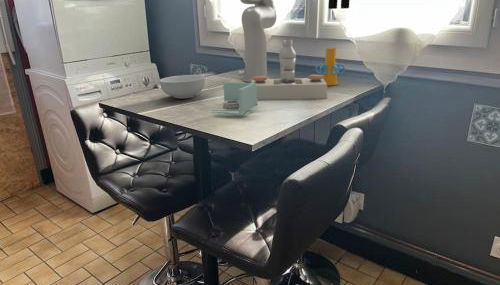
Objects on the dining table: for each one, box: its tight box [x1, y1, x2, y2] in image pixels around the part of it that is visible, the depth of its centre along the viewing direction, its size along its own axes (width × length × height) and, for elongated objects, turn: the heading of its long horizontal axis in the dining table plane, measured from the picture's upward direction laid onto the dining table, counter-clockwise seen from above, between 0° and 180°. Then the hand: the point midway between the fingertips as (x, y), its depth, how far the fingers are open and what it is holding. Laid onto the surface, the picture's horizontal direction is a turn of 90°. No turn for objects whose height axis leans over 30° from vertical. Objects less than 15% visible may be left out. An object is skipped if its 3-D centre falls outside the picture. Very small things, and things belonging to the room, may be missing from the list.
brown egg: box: [308, 74, 323, 82], centre depth 143 cm, size 5×5×6 cm
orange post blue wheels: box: [314, 47, 346, 87], centre depth 160 cm, size 12×10×15 cm
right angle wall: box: [212, 81, 258, 115], centre depth 127 cm, size 12×12×8 cm
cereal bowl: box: [159, 74, 206, 99], centre depth 148 cm, size 17×17×7 cm
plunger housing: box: [250, 77, 328, 101], centre depth 144 cm, size 27×14×5 cm, turn 87°
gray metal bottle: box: [278, 39, 297, 84], centre depth 142 cm, size 6×7×20 cm
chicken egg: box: [253, 75, 268, 83], centre depth 144 cm, size 5×5×6 cm
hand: (338, 8), depth 143 cm, fingers open, 9 cm apart
